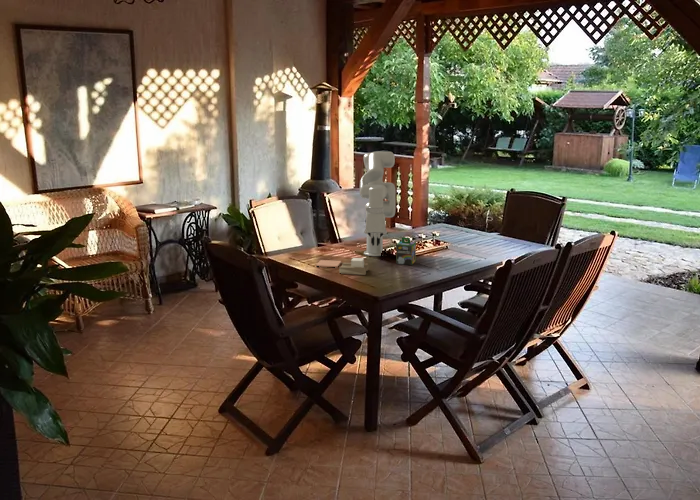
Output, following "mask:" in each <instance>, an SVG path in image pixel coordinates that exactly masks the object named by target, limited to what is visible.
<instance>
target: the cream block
mask: <svg viewBox="0 0 700 500" xmlns="http://www.w3.org/2000/svg"><path fill="white" fill-rule="evenodd" d="M350 263H351V267H361V268H364V264H365V258H363V257H353V258H352V259H351V260H350Z"/></svg>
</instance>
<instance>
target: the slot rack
mask: <svg viewBox="0 0 700 500" xmlns="http://www.w3.org/2000/svg"><path fill="white" fill-rule="evenodd" d="M338 268H339V269H338V271H339V273H341V274H342V275H360V276H361V275H364V276H365V275H367V271H369V263H364V268H361V267H351V262H341V266H339V267H338ZM339 273H338V274H339Z"/></svg>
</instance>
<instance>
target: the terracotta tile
mask: <svg viewBox="0 0 700 500" xmlns="http://www.w3.org/2000/svg"><path fill="white" fill-rule="evenodd" d="M340 265H342V260H329V259H328V260H326V259H325V260H324V259H320V260H319V261H318V262H317V263H316V265H315V267H316V266H322V267H321V268H327V267H335V268H334V269H338V268H339V267H340ZM338 266H339V267H338Z"/></svg>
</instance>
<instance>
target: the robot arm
mask: <svg viewBox="0 0 700 500" xmlns="http://www.w3.org/2000/svg"><path fill="white" fill-rule="evenodd" d="M395 159H396V157H395V154H394V153H393V152H392V151H381V150H380V151H378V150H377V151H372V152H366V153H365V154H364V155H363V163H364V167H365V170H366V172H365V173H364V174H363V175H362V177H361V178H360V180H359V195H360V198H361V199H365V200H368V202H367V203H366V204H365V206H364V207H365V209H364V210H365V217H366V219H365V229H364V232H363V234H366V250H364V251H363V255H365V256H368V257H369V256H370V257H381V253H382V251H384V250H383V245H384V244H383V241H384V240H383V237H384V235H387V234H388V232H387V229H386V218H393V217H395V214H396V186H395V183H393V182H389V181H387V182H384V181H383V176H384V171H385V170H384V168H385V169H386V168H390V169H391V168H394V165H395V164H396V163H395V162H396V160H395Z"/></svg>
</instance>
